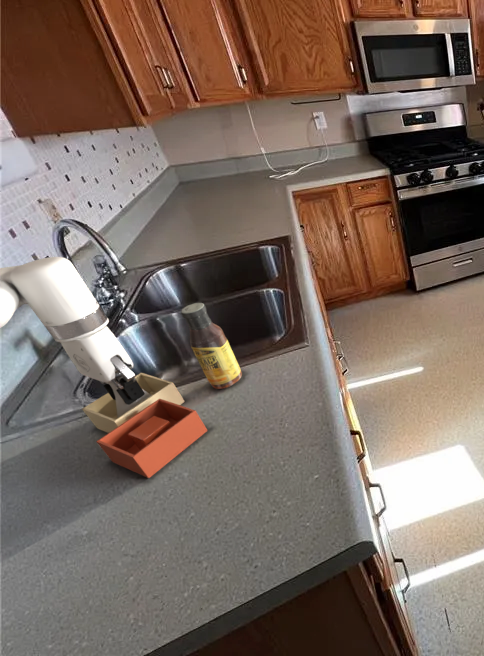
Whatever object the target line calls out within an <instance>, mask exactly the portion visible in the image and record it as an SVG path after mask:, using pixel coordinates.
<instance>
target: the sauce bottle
mask: <svg viewBox="0 0 484 656" xmlns="http://www.w3.org/2000/svg"><path fill="white" fill-rule="evenodd" d="M180 313H181V316H182V318H183V319H185V322H186V323H187V325H188V328H189V342H190V343H189V344H190V348H191V350H192V352H193V354H194V356H195V358H196V360H197V362H198V364H199V366H200V368H201V370H202V371H203V374H204V375H205V377H206V379H207V382H208V383H209V384H210V386H211V387H212V388H214V389H215V390H221V389H227V388H230V387H231V386H233V385H235V384H237V382H239V381H240V380H241V378H242V375H243V372H242V370H241V367H240V365H239V362H238V360H237V358H236V356H235V353H234V351H233V350H232V346H231V345H230V342H229V340H228V338H227V337H226V335H225V333H224V330H223V329H222V328H221V326H219V325H217V324H215V323H213V321H212V319H211V318H210V315H209V314H208V312H207V306H206V305H205V304H204V303H202V302H195V303H192V304H189V305H186V306H184V307H183V308H182V309H181V310H180Z"/></svg>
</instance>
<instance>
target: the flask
mask: <svg viewBox="0 0 484 656" xmlns="http://www.w3.org/2000/svg"><path fill="white" fill-rule="evenodd" d="M122 377H123V376H122V375H121V376H120V377H118V378H117V379H118V380H119V382H120V379H121V378H122ZM105 383H106V384H109V385H110V386H111V387H112V389H113V392H114V394H115V398H116V407H117V418H119V417H120V416H122V415H123V414H125V413H126V412H128V411H129V410H131V409H132V408H134V407H135V406H137V405H138V404H140V403H141V402H143V401H144V400H146V399H147V398H149V397H150V396H152V394H150V393H148V392H146V391H144V390H143V389H142V390H143V391H144V393H145V394H144V396H142V397H140V398H139V399H137V400H136V401H134V402H133V403H131V404H130V405H127V404H125V402H124V401H123V399H122V398H121V397H120V395H119V394H118V392H117V391H116V390H117V389H118V388H117V387H116V386H115V384H114V383H113V382H112V381H110V382H105Z"/></svg>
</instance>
